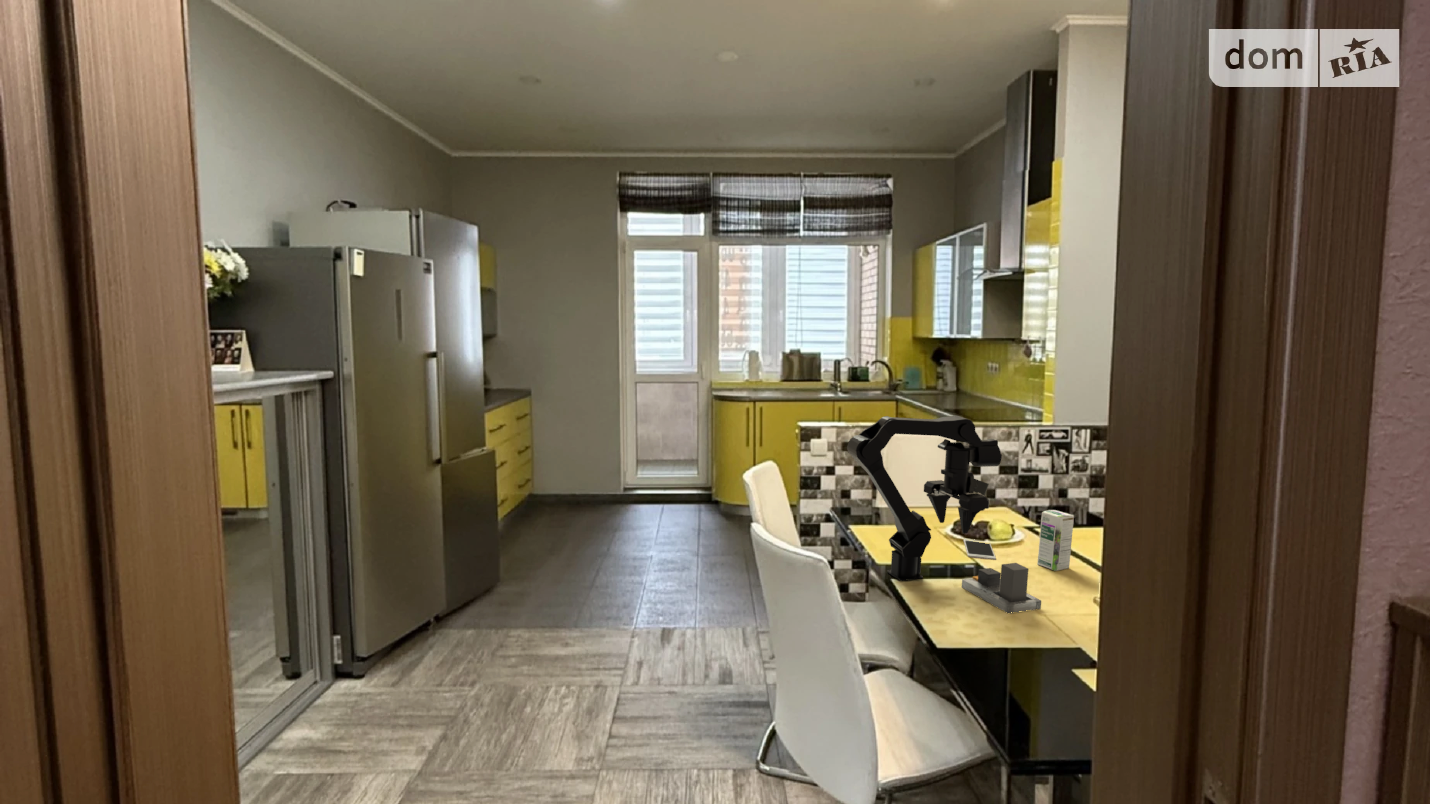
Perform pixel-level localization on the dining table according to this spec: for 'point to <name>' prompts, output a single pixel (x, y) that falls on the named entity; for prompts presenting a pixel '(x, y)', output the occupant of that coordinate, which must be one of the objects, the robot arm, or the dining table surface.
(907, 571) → the robot arm
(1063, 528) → the syrup box
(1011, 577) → the plug
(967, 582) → the grey board with hole
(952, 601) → the dining table surface
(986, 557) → the smartphone
